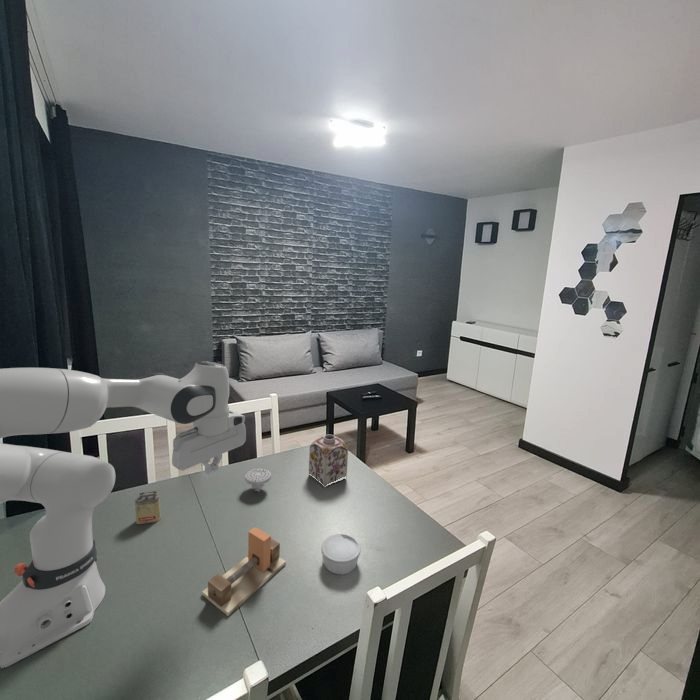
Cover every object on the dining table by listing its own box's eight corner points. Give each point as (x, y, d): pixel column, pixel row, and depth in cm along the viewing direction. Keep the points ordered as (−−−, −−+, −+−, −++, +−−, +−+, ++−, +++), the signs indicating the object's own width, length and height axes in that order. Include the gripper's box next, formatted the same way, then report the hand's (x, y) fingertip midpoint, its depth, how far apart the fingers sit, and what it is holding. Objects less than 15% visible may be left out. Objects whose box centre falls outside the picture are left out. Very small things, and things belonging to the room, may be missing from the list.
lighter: (134, 525, 114) (133, 497, 112) (137, 517, 118) (135, 490, 116) (160, 521, 117) (158, 494, 115) (161, 514, 120) (160, 487, 118)
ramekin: (366, 558, 107) (367, 543, 106) (346, 584, 97) (347, 568, 96) (334, 543, 112) (335, 528, 111) (313, 566, 103) (313, 550, 102)
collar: (263, 571, 98) (263, 541, 96) (248, 561, 101) (248, 531, 99) (270, 566, 100) (270, 535, 98) (255, 556, 103) (255, 526, 101)
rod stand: (227, 616, 86) (227, 596, 85) (202, 594, 92) (201, 576, 91) (285, 564, 103) (286, 547, 102) (261, 548, 108) (261, 532, 107)
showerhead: (241, 479, 130) (248, 465, 140) (241, 497, 132) (248, 482, 141) (268, 480, 131) (272, 466, 140) (267, 498, 132) (272, 483, 142)
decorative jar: (330, 467, 157) (332, 428, 153) (347, 479, 148) (350, 438, 145) (307, 475, 149) (309, 434, 146) (323, 488, 141) (325, 446, 137)
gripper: (181, 438, 83) (182, 493, 86) (249, 414, 100) (249, 460, 103) (165, 431, 87) (167, 483, 89) (234, 409, 104) (234, 454, 106)
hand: (211, 471), depth 96 cm, fingers closed
